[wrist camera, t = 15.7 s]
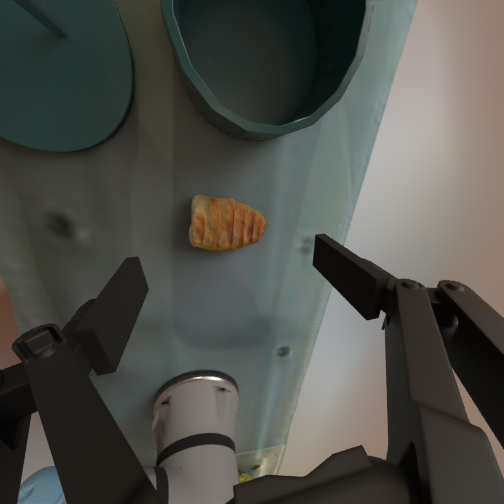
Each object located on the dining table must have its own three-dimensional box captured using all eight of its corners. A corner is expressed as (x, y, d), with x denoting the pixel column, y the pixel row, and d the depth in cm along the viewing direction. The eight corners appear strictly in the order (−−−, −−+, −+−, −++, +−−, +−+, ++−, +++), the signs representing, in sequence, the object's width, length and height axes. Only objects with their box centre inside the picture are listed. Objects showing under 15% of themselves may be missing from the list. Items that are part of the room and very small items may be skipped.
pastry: (266, 199, 27) (275, 206, 23) (258, 247, 29) (265, 260, 26) (189, 191, 24) (187, 197, 21) (188, 244, 27) (187, 258, 24)
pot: (328, 117, 24) (376, 102, 18) (211, 158, 23) (214, 159, 17) (307, -78, 18) (370, -219, 11) (142, -29, 17) (102, -150, 10)
